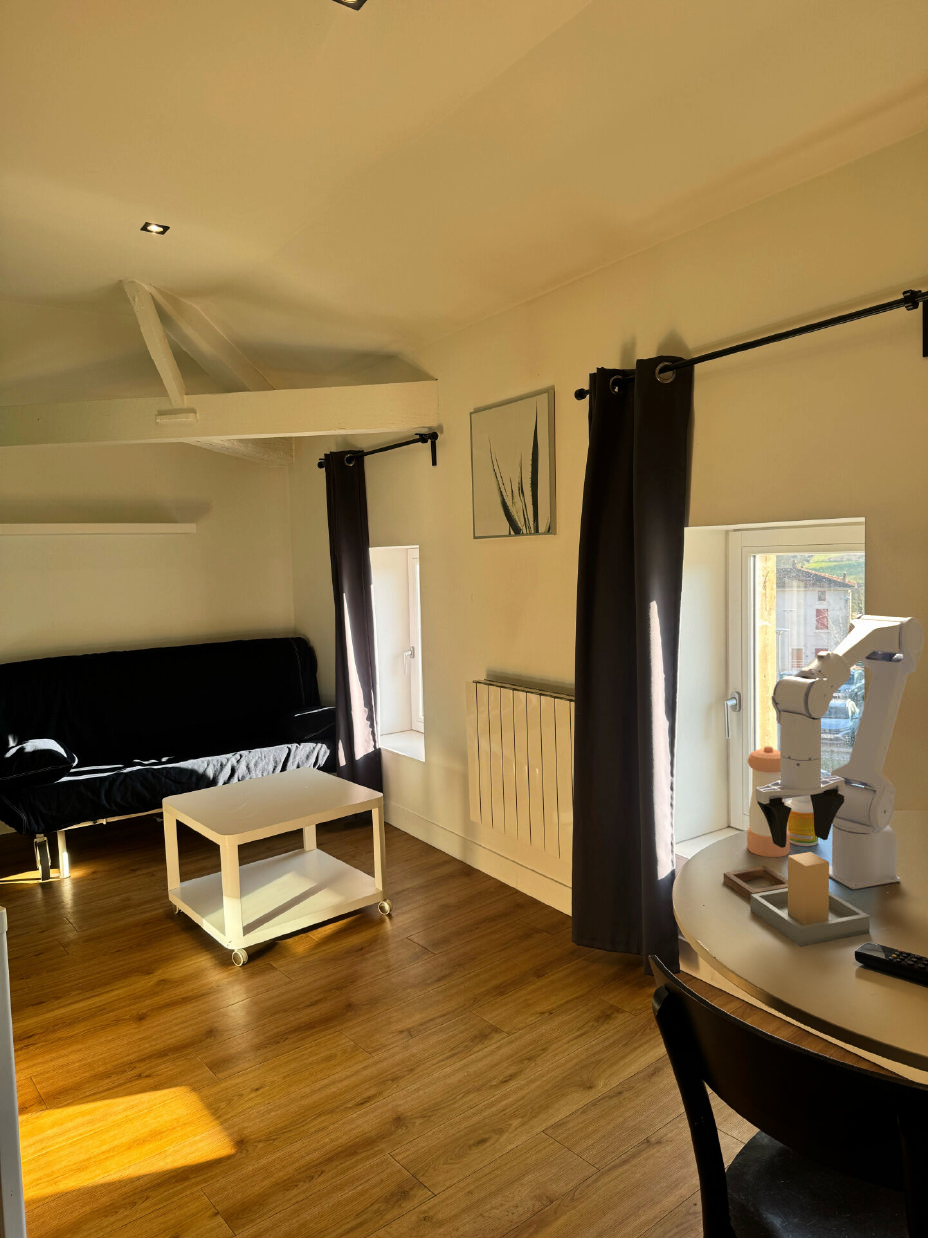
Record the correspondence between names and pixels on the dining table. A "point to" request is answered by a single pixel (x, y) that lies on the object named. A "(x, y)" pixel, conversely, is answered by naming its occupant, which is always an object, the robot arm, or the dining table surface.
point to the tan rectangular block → (808, 888)
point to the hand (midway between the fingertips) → (800, 841)
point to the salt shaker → (758, 831)
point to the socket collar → (738, 877)
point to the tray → (840, 924)
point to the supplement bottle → (801, 821)
